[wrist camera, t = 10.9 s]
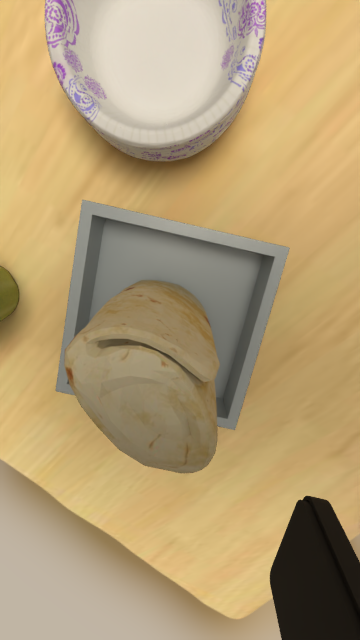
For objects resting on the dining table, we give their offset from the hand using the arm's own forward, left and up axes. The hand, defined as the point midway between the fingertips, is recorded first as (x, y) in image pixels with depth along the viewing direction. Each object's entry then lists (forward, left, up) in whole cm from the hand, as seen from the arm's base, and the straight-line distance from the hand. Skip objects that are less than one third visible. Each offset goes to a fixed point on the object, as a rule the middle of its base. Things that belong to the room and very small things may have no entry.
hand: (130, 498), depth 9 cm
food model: (0, 0, -25) cm, 25 cm away
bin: (+1, 0, -25) cm, 25 cm away
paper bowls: (+6, -21, -26) cm, 33 cm away
